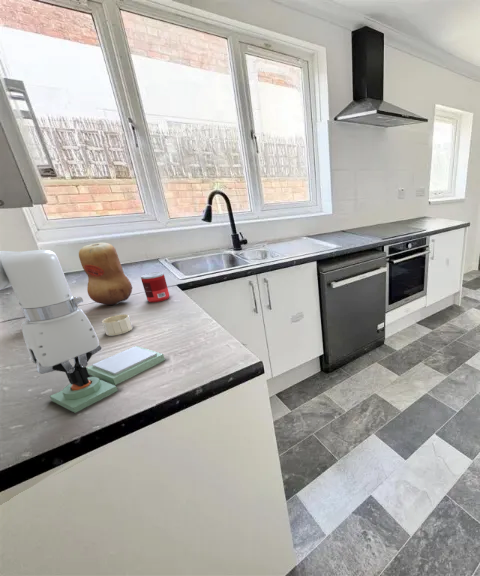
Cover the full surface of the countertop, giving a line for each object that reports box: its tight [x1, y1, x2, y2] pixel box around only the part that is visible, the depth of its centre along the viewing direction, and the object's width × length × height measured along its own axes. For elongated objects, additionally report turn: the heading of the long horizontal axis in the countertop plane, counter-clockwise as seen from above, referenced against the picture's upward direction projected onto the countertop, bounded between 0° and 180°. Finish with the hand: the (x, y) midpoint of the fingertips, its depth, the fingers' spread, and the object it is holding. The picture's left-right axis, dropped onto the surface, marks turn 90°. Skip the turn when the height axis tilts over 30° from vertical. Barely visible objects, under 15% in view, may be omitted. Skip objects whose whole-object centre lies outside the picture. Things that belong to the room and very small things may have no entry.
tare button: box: [71, 380, 91, 391], centre depth 71 cm, size 3×3×2 cm
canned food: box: [140, 271, 170, 303], centre depth 129 cm, size 8×8×11 cm
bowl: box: [101, 313, 133, 337], centre depth 102 cm, size 7×7×4 cm
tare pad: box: [49, 376, 118, 414], centre depth 71 cm, size 10×8×3 cm
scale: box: [86, 345, 166, 386], centre depth 82 cm, size 12×12×3 cm
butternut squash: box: [78, 242, 133, 306], centre depth 123 cm, size 14×13×25 cm
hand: (81, 383), depth 70 cm, fingers closed
